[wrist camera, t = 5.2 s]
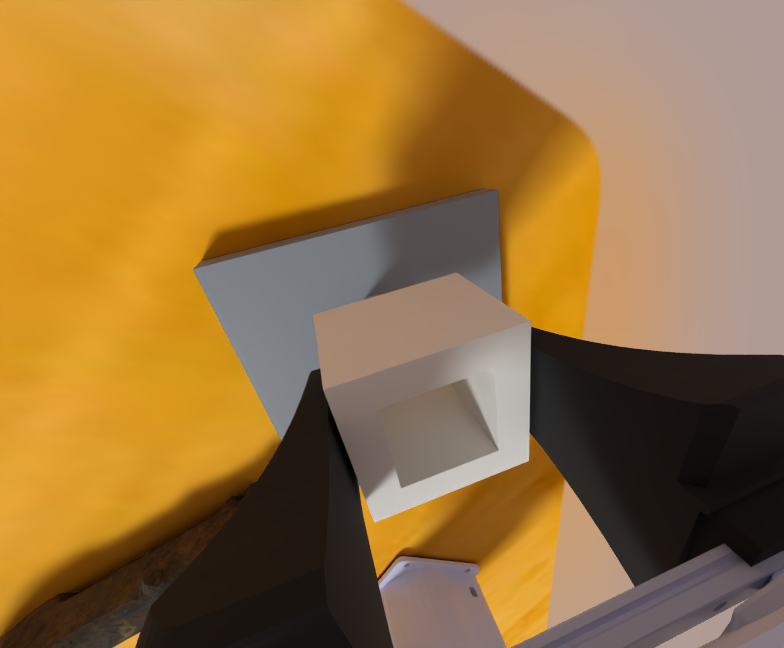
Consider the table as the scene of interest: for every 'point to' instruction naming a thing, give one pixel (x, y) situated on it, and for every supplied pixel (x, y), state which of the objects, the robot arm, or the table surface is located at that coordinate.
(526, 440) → the hollow square block
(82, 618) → the hand tool
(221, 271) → the plate
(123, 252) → the table surface
